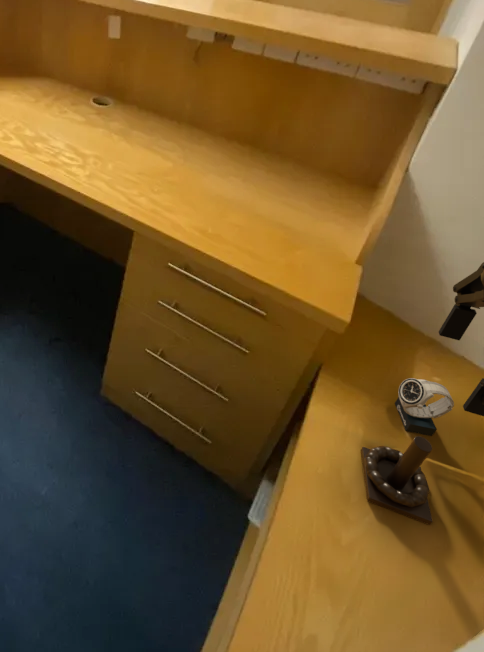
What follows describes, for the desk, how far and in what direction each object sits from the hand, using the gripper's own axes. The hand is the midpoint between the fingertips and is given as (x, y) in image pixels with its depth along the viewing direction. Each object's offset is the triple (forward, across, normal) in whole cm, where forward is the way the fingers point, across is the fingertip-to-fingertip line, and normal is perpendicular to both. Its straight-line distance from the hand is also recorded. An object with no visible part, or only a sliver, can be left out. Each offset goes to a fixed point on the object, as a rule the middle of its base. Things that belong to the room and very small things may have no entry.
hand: (460, 371), depth 77 cm
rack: (+26, +5, -2) cm, 27 cm away
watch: (+26, -9, +3) cm, 28 cm away
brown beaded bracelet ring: (+24, +4, -2) cm, 24 cm away
